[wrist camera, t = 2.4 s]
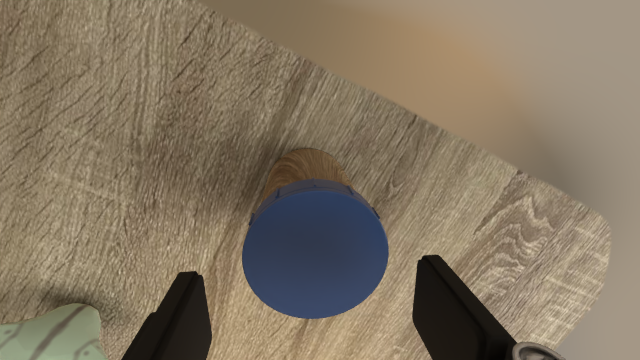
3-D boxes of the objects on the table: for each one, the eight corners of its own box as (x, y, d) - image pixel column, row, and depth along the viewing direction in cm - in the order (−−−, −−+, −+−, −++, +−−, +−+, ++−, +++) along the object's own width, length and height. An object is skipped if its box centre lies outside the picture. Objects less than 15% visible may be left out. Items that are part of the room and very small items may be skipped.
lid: (312, 149, 14) (315, 158, 12) (404, 235, 15) (417, 253, 14) (219, 246, 15) (210, 266, 13) (316, 316, 16) (318, 341, 15)
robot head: (144, 306, 25) (92, 384, 18) (129, 342, 26) (75, 427, 19) (40, 273, 23) (-57, 346, 17) (29, 313, 24) (-68, 396, 18)
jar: (305, 130, 21) (314, 163, 12) (362, 185, 23) (407, 248, 14) (249, 190, 22) (220, 259, 13) (308, 238, 24) (317, 328, 15)
